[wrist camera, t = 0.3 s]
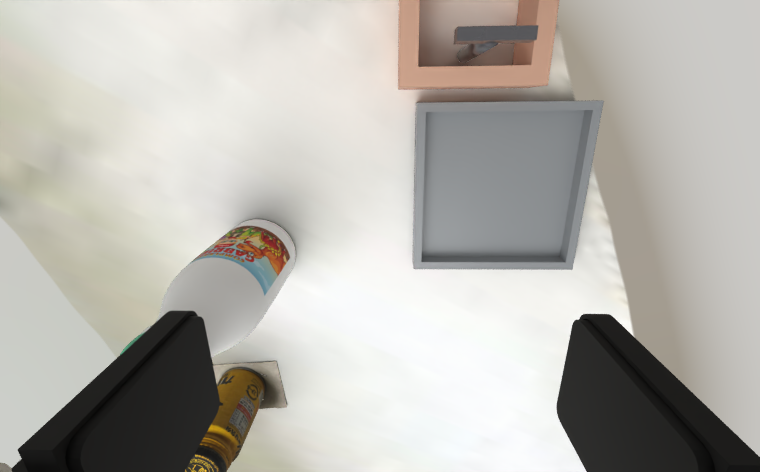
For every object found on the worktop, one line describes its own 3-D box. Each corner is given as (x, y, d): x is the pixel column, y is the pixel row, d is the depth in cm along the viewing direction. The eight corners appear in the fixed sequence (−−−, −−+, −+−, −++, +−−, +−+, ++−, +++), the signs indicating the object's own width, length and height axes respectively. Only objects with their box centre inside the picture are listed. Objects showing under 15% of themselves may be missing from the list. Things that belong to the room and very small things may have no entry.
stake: (436, 48, 33) (457, 23, 23) (492, 48, 33) (539, 21, 22) (436, 63, 34) (456, 44, 23) (490, 62, 33) (536, 43, 23)
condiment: (211, 364, 46) (153, 448, 35) (276, 360, 46) (239, 444, 34) (225, 409, 49) (176, 500, 37) (287, 405, 48) (255, 497, 37)
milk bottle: (308, 270, 41) (238, 408, 22) (247, 289, 42) (132, 436, 24) (279, 207, 39) (174, 304, 20) (216, 230, 40) (60, 341, 21)
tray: (416, 102, 35) (417, 102, 33) (592, 100, 34) (603, 100, 32) (412, 261, 40) (413, 269, 39) (563, 261, 40) (572, 269, 38)
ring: (399, -65, 30) (400, -96, 26) (544, -69, 30) (572, -101, 25) (398, 89, 34) (399, 87, 30) (526, 88, 34) (547, 85, 29)
